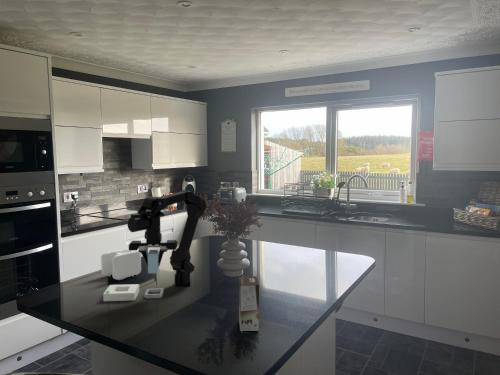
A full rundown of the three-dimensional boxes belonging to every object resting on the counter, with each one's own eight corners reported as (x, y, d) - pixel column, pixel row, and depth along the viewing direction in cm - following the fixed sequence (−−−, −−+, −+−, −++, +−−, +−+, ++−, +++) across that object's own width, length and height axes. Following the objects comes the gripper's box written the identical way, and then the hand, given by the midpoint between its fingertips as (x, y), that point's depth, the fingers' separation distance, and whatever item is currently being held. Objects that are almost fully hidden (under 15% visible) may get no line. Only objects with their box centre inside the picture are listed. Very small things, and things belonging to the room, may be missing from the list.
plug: (159, 270, 160) (159, 249, 159) (158, 273, 156) (157, 251, 155) (149, 270, 160) (149, 249, 159) (148, 273, 156) (147, 252, 155)
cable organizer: (112, 282, 174) (112, 257, 172) (101, 277, 181) (100, 252, 179) (141, 274, 185) (141, 250, 184) (129, 269, 192) (129, 247, 191)
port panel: (139, 291, 163) (139, 283, 163) (134, 300, 153) (134, 292, 153) (110, 291, 162) (109, 284, 162) (103, 301, 152) (103, 292, 152)
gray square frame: (163, 291, 163) (163, 288, 162) (161, 297, 156) (161, 294, 156) (147, 292, 162) (147, 288, 162) (144, 298, 155) (144, 294, 155)
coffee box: (259, 332, 128) (259, 285, 126) (240, 332, 127) (240, 285, 125) (256, 319, 137) (257, 275, 135) (238, 320, 136) (238, 276, 135)
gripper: (178, 224, 165) (178, 259, 167) (133, 224, 163) (134, 260, 165) (175, 229, 154) (176, 267, 155) (127, 230, 152) (128, 268, 154)
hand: (153, 265), depth 158 cm, fingers closed on plug, 4 cm apart
